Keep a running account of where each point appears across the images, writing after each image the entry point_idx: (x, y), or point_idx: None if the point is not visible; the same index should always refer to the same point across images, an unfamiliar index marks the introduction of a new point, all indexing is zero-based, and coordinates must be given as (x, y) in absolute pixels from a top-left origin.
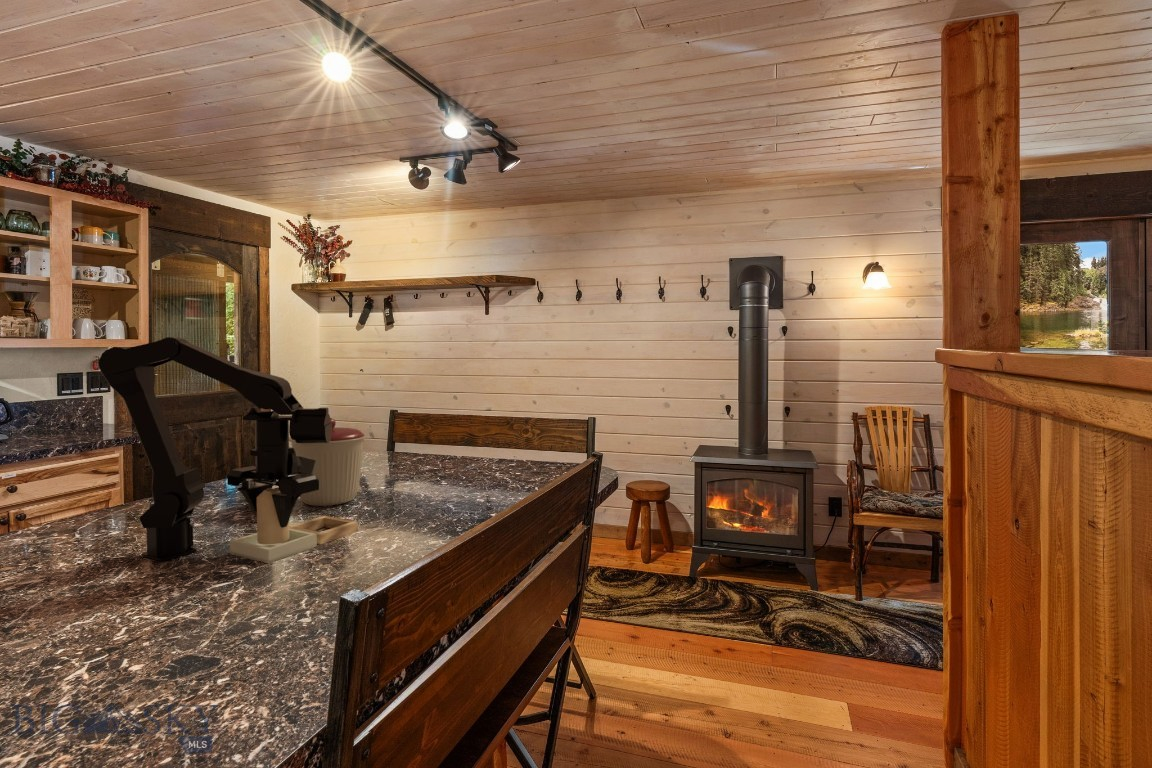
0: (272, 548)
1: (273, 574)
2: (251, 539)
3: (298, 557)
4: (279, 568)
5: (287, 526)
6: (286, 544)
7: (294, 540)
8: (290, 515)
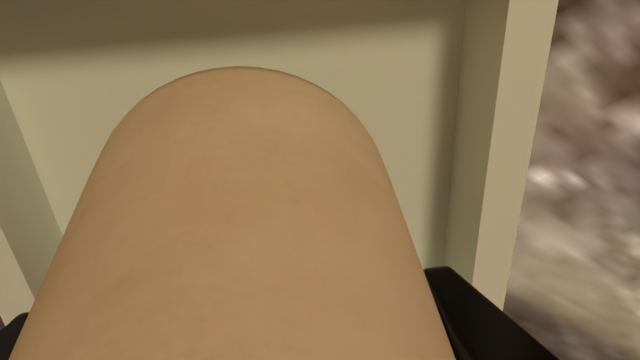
0: None
1: (615, 341)
2: (39, 265)
3: (559, 134)
4: (584, 292)
5: (406, 224)
6: (511, 238)
7: (509, 160)
8: (550, 356)
